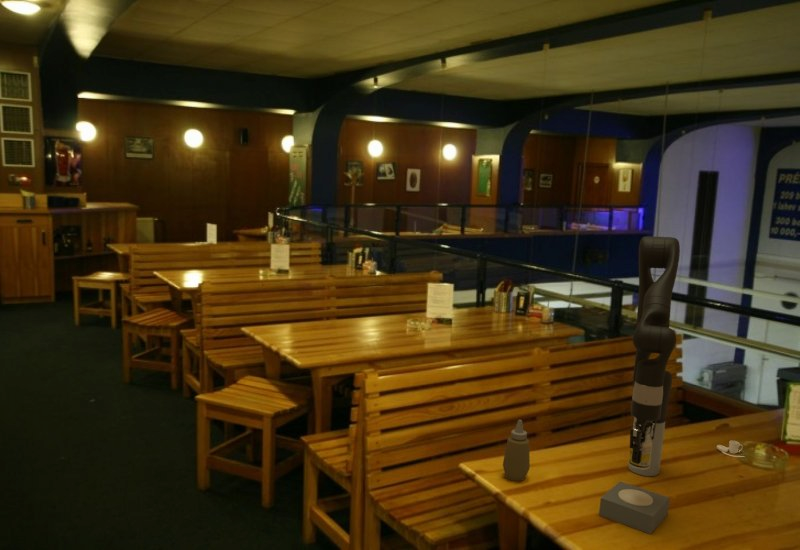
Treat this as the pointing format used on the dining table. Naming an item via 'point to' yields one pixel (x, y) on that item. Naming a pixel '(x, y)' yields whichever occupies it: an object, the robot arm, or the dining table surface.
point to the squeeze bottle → (517, 454)
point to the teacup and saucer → (730, 448)
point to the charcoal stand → (634, 507)
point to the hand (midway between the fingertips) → (639, 459)
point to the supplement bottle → (643, 455)
